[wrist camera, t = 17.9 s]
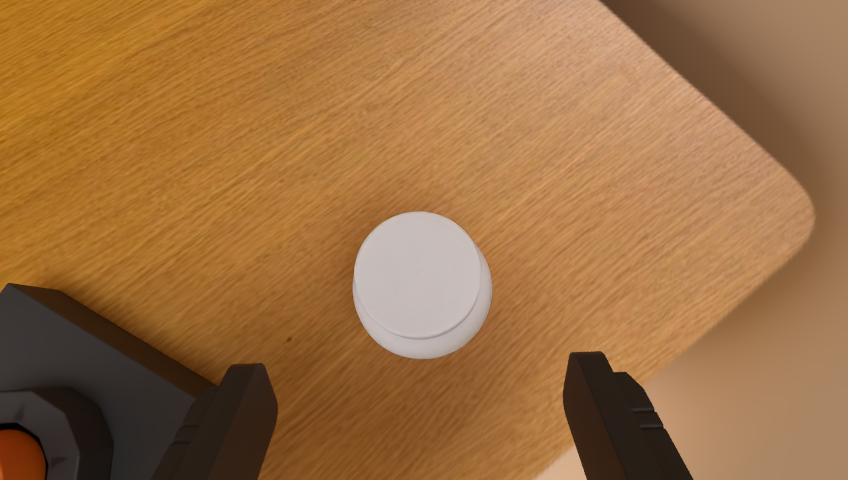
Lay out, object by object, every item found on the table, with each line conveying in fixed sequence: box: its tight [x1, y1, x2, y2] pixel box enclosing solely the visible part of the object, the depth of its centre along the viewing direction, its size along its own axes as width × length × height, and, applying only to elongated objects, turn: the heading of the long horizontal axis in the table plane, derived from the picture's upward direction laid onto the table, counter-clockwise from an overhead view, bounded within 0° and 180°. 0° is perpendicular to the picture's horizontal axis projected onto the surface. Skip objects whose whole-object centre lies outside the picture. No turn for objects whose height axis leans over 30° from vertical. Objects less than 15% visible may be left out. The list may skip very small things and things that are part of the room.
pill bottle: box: [353, 211, 492, 359], centre depth 17 cm, size 5×5×9 cm
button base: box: [0, 283, 216, 480], centre depth 18 cm, size 13×11×4 cm
